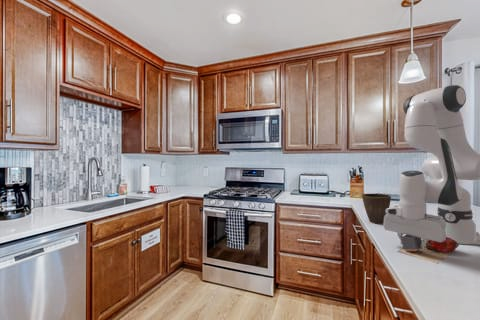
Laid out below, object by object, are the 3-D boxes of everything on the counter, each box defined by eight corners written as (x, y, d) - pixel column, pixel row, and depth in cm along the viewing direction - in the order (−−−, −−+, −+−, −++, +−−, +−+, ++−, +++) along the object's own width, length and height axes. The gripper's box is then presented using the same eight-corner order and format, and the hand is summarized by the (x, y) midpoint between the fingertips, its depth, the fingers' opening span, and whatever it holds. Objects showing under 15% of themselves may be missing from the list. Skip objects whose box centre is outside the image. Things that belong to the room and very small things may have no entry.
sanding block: (411, 246, 97) (407, 234, 98) (423, 247, 93) (420, 234, 94) (403, 250, 93) (400, 237, 94) (416, 251, 89) (413, 237, 90)
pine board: (409, 248, 100) (409, 244, 100) (449, 259, 89) (449, 255, 89) (396, 255, 93) (396, 251, 93) (438, 267, 82) (438, 263, 82)
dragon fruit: (419, 253, 98) (455, 261, 93) (426, 247, 91) (466, 255, 86) (417, 233, 102) (453, 240, 97) (424, 226, 95) (462, 233, 90)
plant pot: (371, 226, 132) (370, 197, 132) (357, 219, 147) (357, 193, 147) (397, 225, 133) (397, 197, 132) (381, 218, 148) (380, 193, 147)
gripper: (448, 215, 87) (449, 253, 87) (388, 206, 103) (388, 238, 104) (443, 218, 83) (443, 257, 83) (381, 208, 100) (381, 241, 100)
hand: (412, 246), depth 93 cm, fingers closed on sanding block, 5 cm apart
